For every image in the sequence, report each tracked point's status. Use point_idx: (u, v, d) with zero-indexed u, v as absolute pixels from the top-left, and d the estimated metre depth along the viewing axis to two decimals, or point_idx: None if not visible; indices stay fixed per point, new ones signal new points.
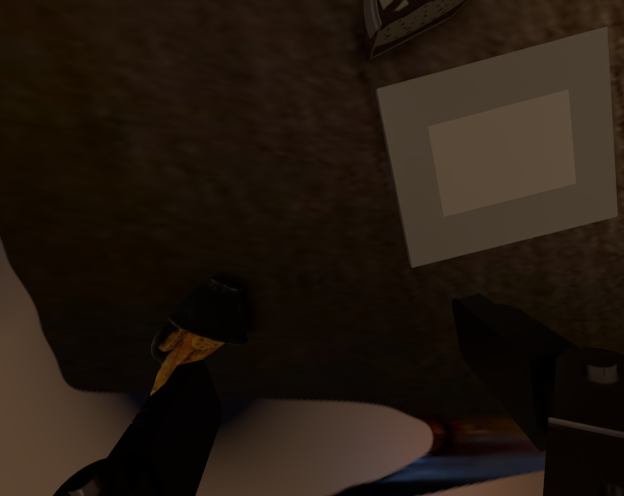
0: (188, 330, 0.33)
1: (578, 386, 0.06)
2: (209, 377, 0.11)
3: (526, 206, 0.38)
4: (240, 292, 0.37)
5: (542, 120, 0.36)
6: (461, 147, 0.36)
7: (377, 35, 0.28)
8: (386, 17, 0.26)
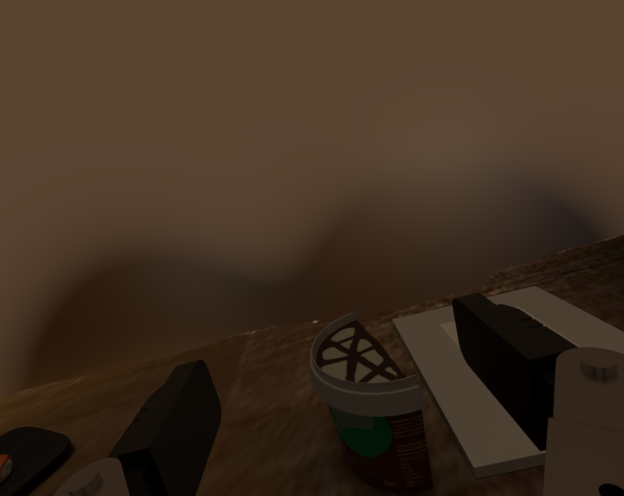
0: None
1: (578, 386, 0.06)
2: (209, 377, 0.11)
3: (561, 325, 0.37)
4: None
5: None
6: None
7: None
8: None
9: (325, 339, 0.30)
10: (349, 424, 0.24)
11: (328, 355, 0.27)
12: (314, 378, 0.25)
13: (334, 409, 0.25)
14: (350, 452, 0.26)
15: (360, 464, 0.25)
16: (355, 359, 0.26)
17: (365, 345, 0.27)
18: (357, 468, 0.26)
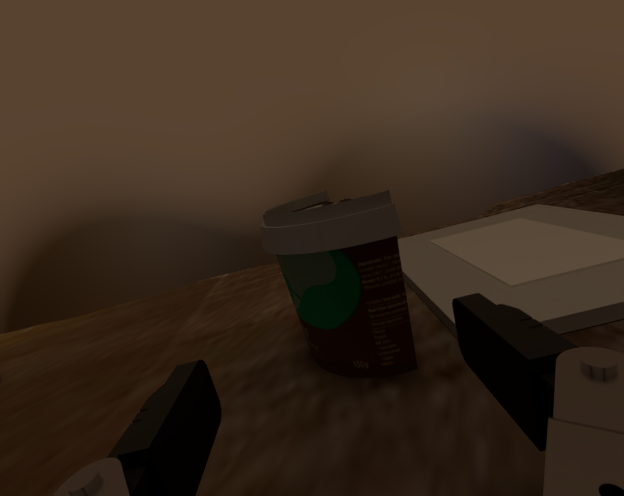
0: None
1: (578, 386, 0.06)
2: (209, 377, 0.11)
3: (570, 224, 0.31)
4: None
5: (464, 240, 0.34)
6: (525, 262, 0.25)
7: (396, 238, 0.16)
8: None
9: None
10: (306, 284, 0.18)
11: None
12: (263, 233, 0.19)
13: (289, 271, 0.19)
14: (312, 333, 0.20)
15: (324, 345, 0.20)
16: None
17: None
18: (321, 353, 0.20)
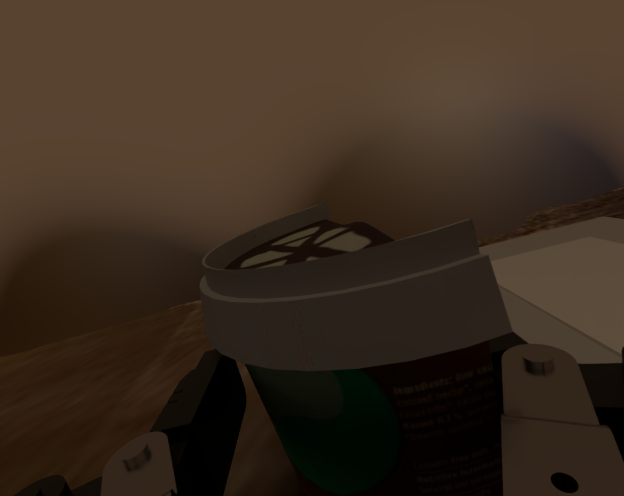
0: None
1: (523, 381, 0.06)
2: (235, 363, 0.11)
3: None
4: None
5: (520, 269, 0.25)
6: None
7: None
8: None
9: (260, 245, 0.15)
10: (283, 408, 0.09)
11: (253, 261, 0.12)
12: (201, 297, 0.10)
13: (251, 372, 0.10)
14: (302, 479, 0.11)
15: None
16: (305, 254, 0.11)
17: (333, 232, 0.12)
18: None
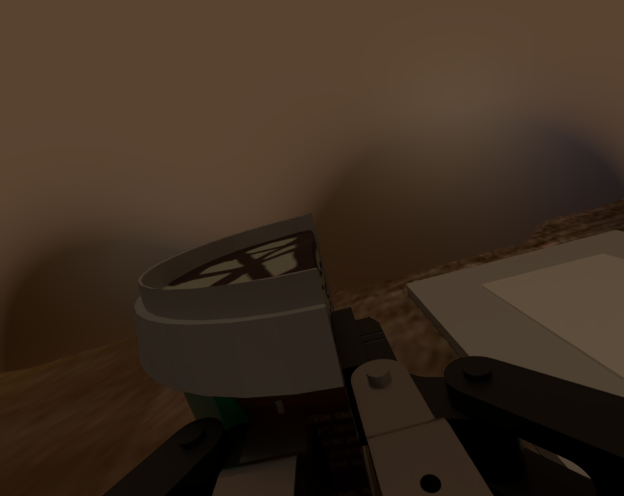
0: None
1: (372, 398, 0.07)
2: None
3: None
4: None
5: (534, 289, 0.25)
6: None
7: (342, 378, 0.07)
8: None
9: (236, 251, 0.16)
10: (193, 413, 0.10)
11: (214, 269, 0.13)
12: None
13: None
14: None
15: None
16: (246, 270, 0.11)
17: (284, 249, 0.12)
18: None
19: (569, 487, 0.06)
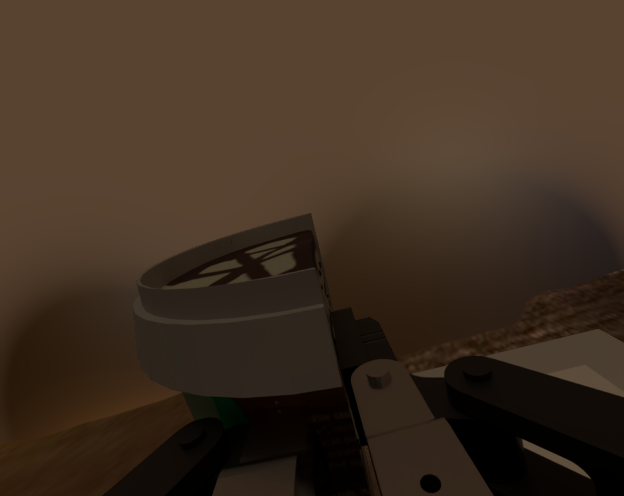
0: None
1: (372, 398, 0.07)
2: None
3: None
4: None
5: None
6: None
7: (341, 378, 0.07)
8: None
9: (236, 251, 0.16)
10: None
11: (213, 269, 0.13)
12: None
13: None
14: None
15: None
16: (245, 269, 0.11)
17: (283, 249, 0.12)
18: None
19: (569, 487, 0.06)
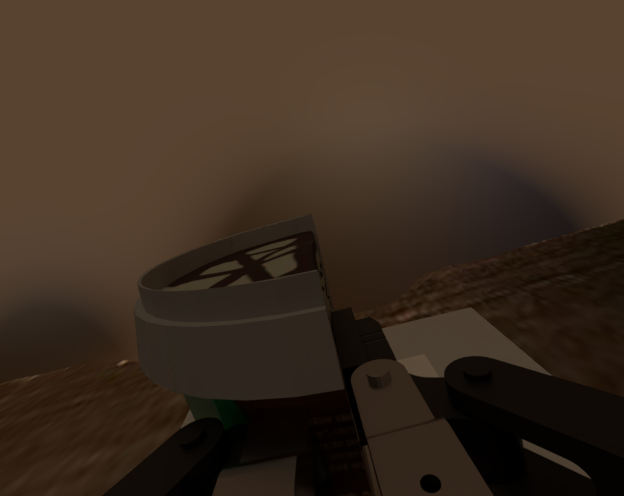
0: None
1: (372, 398, 0.07)
2: None
3: None
4: None
5: None
6: None
7: (343, 380, 0.07)
8: None
9: (236, 252, 0.15)
10: None
11: (213, 270, 0.13)
12: None
13: None
14: None
15: None
16: (246, 271, 0.11)
17: (284, 251, 0.12)
18: None
19: (569, 487, 0.06)
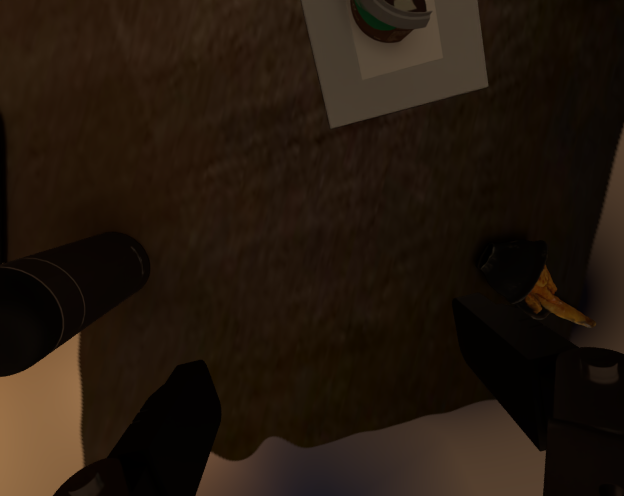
0: (531, 288, 0.40)
1: (578, 386, 0.06)
2: (209, 377, 0.11)
3: None
4: (495, 244, 0.44)
5: None
6: (381, 45, 0.40)
7: None
8: (422, 6, 0.31)
9: None
10: (370, 12, 0.34)
11: None
12: None
13: None
14: (359, 15, 0.37)
15: (363, 24, 0.38)
16: None
17: None
18: (359, 23, 0.39)
19: None
